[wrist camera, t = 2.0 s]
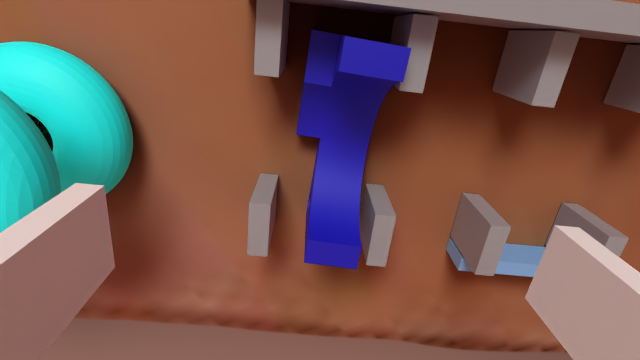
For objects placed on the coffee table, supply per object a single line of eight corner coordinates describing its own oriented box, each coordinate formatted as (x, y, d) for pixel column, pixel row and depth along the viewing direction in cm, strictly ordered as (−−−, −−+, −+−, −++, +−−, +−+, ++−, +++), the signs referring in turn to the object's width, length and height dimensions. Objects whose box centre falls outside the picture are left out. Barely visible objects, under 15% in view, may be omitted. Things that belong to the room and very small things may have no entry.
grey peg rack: (675, 25, 21) (802, 24, 16) (569, 260, 27) (633, 319, 22) (248, -28, 20) (222, -49, 14) (241, 231, 26) (221, 285, 21)
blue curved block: (311, 29, 21) (311, 29, 16) (386, 42, 22) (411, 48, 16) (285, 209, 26) (277, 259, 20) (347, 218, 26) (356, 269, 21)
